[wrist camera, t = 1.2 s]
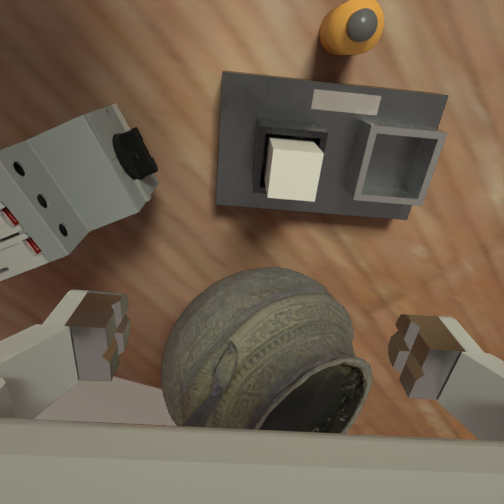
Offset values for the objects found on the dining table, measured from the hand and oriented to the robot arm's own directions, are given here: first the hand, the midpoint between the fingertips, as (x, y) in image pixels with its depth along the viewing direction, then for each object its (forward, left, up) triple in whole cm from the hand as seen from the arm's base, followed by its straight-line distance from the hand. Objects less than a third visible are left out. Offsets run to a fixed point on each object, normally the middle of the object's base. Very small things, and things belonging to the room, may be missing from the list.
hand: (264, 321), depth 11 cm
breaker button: (0, +3, -22) cm, 22 cm away
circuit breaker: (+3, -15, -28) cm, 32 cm away
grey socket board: (0, +7, -28) cm, 29 cm away
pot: (+21, +3, -28) cm, 35 cm away
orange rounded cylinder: (-10, +7, -28) cm, 31 cm away
